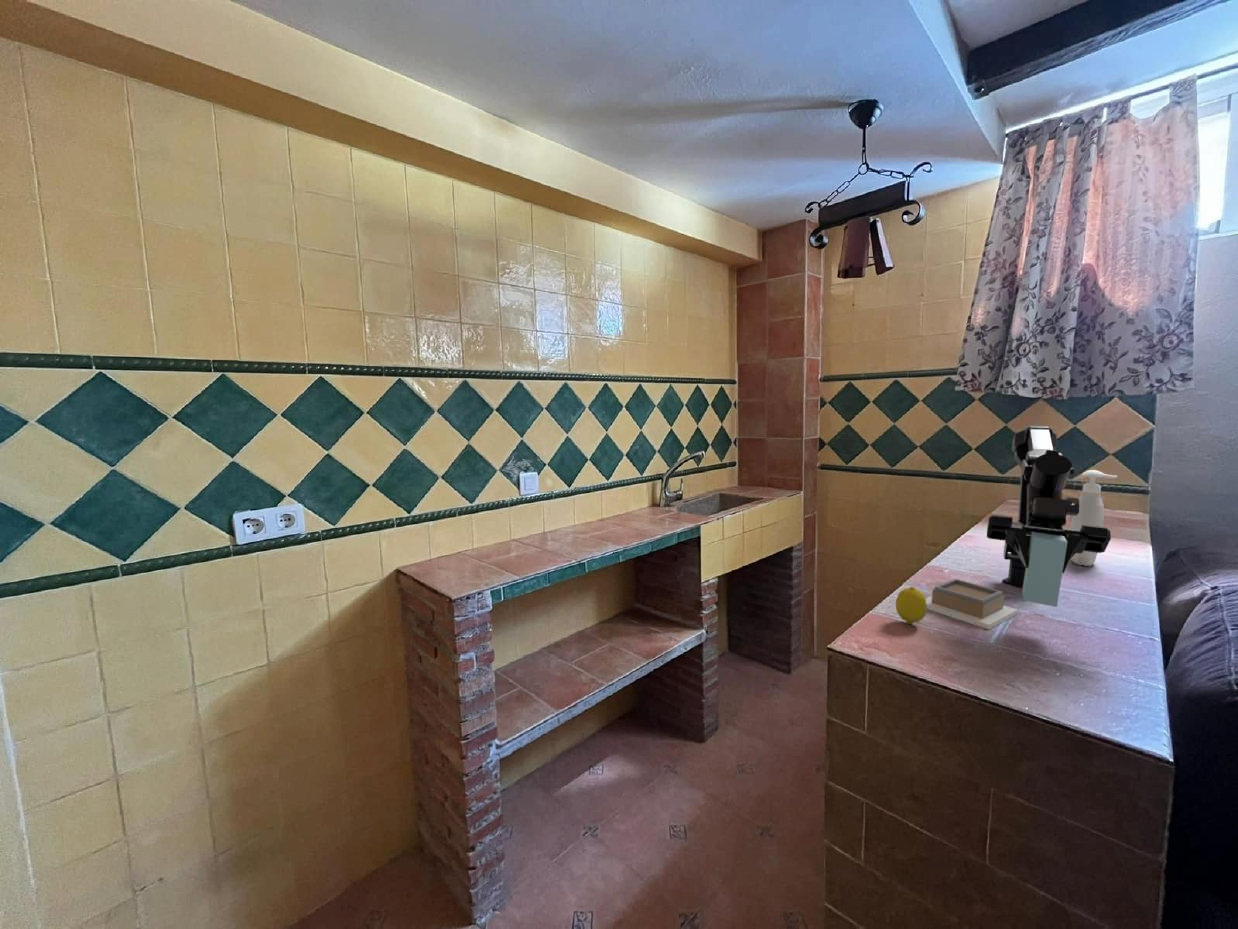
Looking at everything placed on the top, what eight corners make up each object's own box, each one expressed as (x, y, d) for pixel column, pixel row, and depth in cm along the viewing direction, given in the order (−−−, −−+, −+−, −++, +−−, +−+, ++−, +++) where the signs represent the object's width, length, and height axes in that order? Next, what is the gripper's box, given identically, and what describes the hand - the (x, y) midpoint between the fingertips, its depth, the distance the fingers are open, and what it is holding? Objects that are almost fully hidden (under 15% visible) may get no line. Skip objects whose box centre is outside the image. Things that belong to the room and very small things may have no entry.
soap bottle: (1106, 572, 137) (1120, 474, 133) (1067, 566, 142) (1078, 471, 138) (1103, 560, 147) (1115, 469, 144) (1066, 554, 153) (1077, 466, 149)
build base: (947, 593, 121) (949, 574, 121) (1017, 614, 110) (1019, 593, 109) (917, 605, 114) (919, 585, 113) (988, 629, 102) (990, 607, 102)
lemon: (929, 631, 101) (932, 593, 100) (899, 628, 102) (902, 590, 101) (919, 619, 107) (922, 583, 106) (890, 617, 108) (893, 581, 107)
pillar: (1022, 592, 104) (1031, 531, 102) (1053, 598, 101) (1064, 536, 99) (1023, 600, 100) (1033, 537, 98) (1056, 607, 97) (1067, 542, 95)
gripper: (993, 477, 106) (989, 540, 98) (1115, 486, 95) (1121, 557, 88) (988, 507, 113) (984, 568, 106) (1101, 518, 103) (1105, 587, 95)
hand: (1044, 569), depth 98 cm, fingers closed on pillar, 5 cm apart
